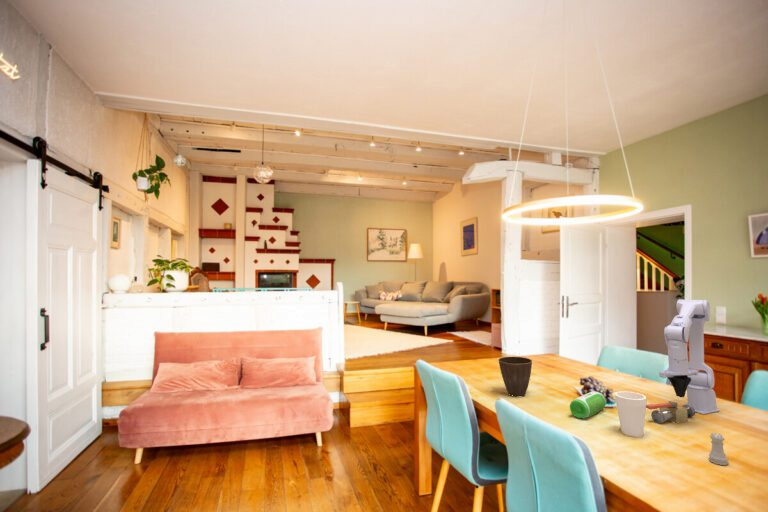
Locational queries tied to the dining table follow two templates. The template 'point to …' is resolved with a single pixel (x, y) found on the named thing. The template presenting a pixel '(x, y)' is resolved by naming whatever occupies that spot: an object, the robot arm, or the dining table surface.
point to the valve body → (673, 414)
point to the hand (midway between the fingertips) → (680, 396)
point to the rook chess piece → (717, 450)
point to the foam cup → (631, 412)
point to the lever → (662, 405)
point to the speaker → (587, 404)
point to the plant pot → (516, 374)
